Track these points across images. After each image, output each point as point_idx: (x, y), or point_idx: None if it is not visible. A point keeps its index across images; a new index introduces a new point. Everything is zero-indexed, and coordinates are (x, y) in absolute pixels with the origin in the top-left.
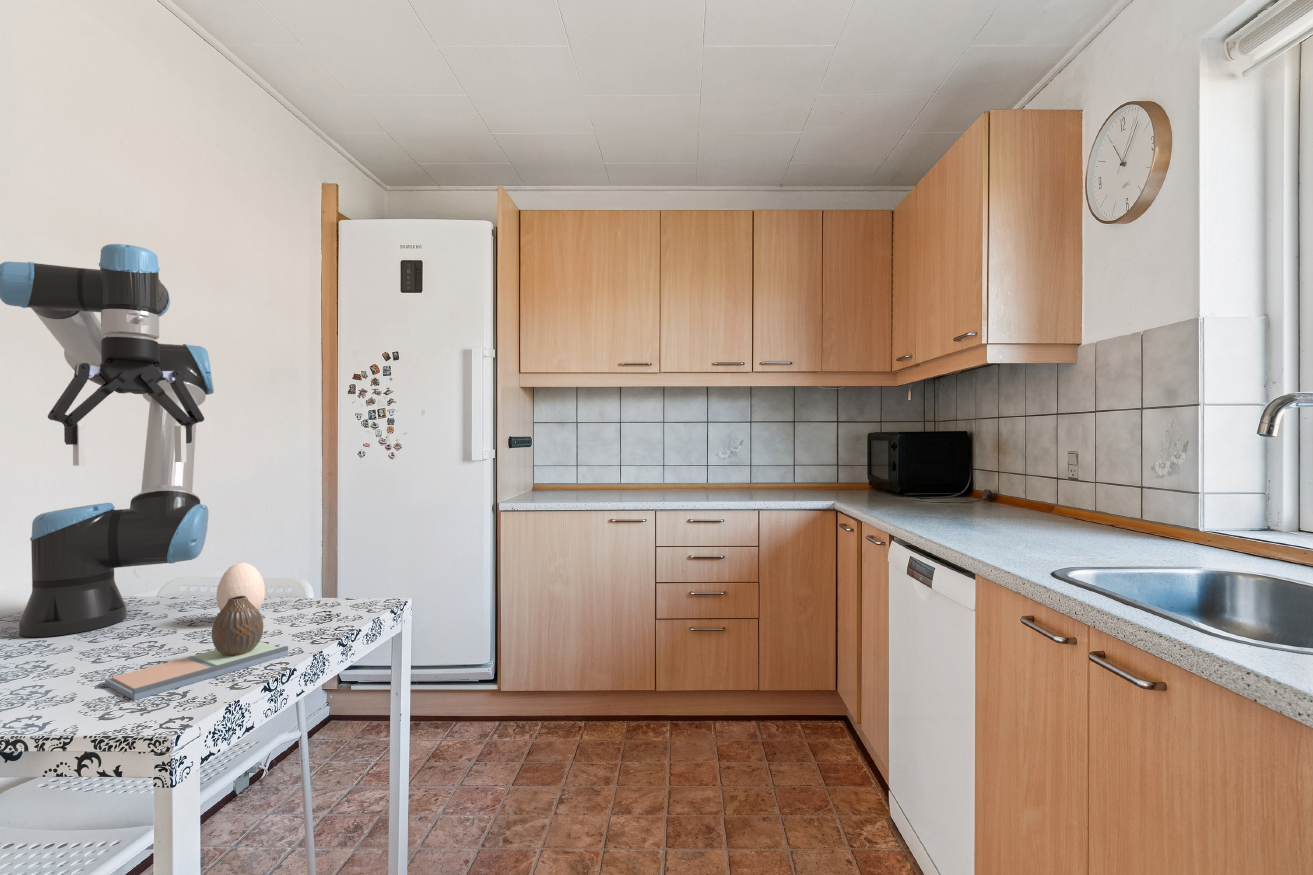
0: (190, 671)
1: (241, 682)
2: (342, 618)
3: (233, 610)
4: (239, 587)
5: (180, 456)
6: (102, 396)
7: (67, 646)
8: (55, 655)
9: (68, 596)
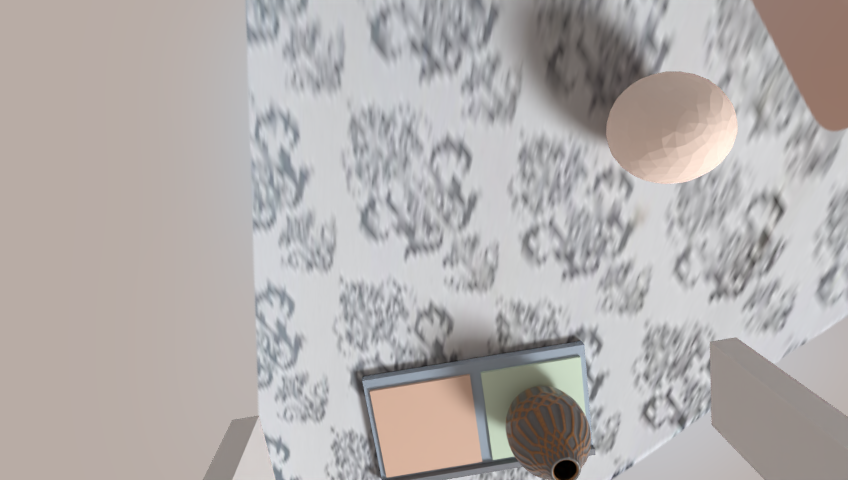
0: (457, 453)
1: None
2: (761, 294)
3: (545, 477)
4: (656, 180)
5: (731, 437)
6: None
7: (335, 36)
8: (313, 102)
9: None
